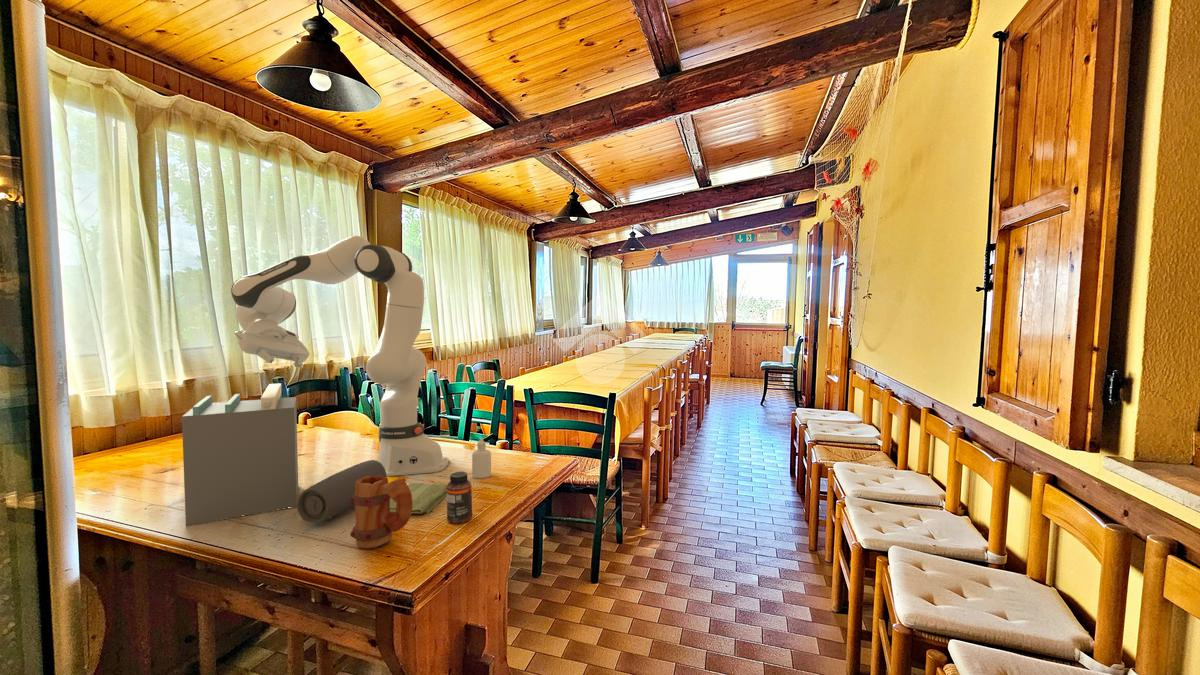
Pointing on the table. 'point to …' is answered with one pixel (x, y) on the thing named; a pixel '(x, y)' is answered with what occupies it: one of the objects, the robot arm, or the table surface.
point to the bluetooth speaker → (335, 492)
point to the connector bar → (271, 396)
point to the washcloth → (423, 497)
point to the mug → (379, 509)
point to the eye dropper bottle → (481, 461)
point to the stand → (239, 458)
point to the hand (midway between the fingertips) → (285, 363)
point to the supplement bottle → (459, 498)
